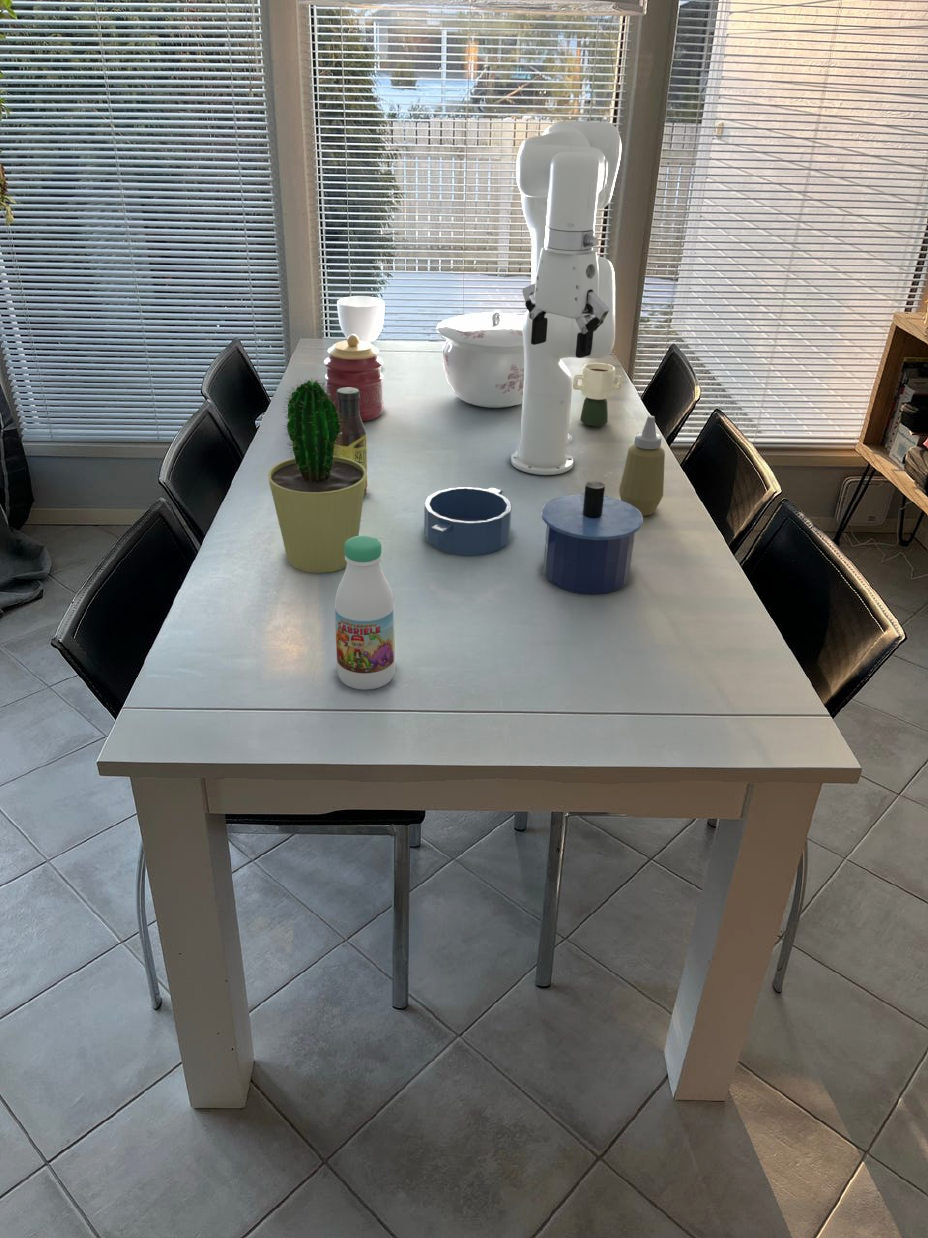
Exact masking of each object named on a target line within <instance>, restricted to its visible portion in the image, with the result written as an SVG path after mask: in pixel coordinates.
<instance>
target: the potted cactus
mask: <svg viewBox="0 0 928 1238" xmlns="http://www.w3.org/2000/svg"><path fill="white" fill-rule="evenodd" d="M310 379H311V380H310ZM310 379H309V380H305V381H304V382H303V383H301V380H300V379H298V380H296V382H297V383H298V385H296V388H295V387H292V388H291V389H289V391H287V390H286V392H287V393H289V392H290V393H289V395H288V397H285V396H284V397H285V398H284V399H286V400H287V401H285V400H284V402H285V403H286V404H285V403H284V405H286V406H287V409H284V408H283V410H284V411H283V412H282V414H283V413H285V411H287V415H286V416H285V419H287V420H288V421H284V423H285V422H286V424H284V427H285V431H286V432H285V433H284V436H285V437H289V440H290V442H287V443H286V444H287V446H288V445H289V446H288V450H292V451H291V456H293V458H289V457H290V455H289V456H288V455H287V458H289V459H286V460H283V461H280V462H279V463H277V464H275V465H274V466H273V467H271V468H270V470H269V471H268V473H267V478H268V482H269V487H270V492H271V496H272V500H273V504H274V508H275V512H276V516H277V521H278V525H279V529H280V533H281V538H282V542H283V547H284V551H285V554H286V558H287V559H286V560H287V561H288V563H289V564H290V565H291V566H292V567H293V568H295V569H296V570H300V571H303V572H306V573H307V572H308V573H317V574H319V573H320V574H321V573H332V572H336V571H340V570H343V569H346V566H347V561H346V560H345V550H344V546H345V542H346V541H347V540H348V539H350V538H352V537H355V536H360V529H361V519H362V511H363V506H364V505H363V504H364V497H365V496H364V489H365V480H366V476H367V477H368V470H367V471H366V468H365V467H364V466H363V465H361V464H360V463H358V462H356V461H354V460H351V459H348V458H344V457H339V456H337V455H336V454H335V455H336V456H335V455H334V452H335V451H334V448H335V449H338V448H336V447H337V446H338V445H337V444H335V445H337V446H336V447H334V441H335V440H336V438H337V437H340V436H337V434H338V433H339V432H340V433H341V430H340V428H343V427H346V426H343V427H340V425H341V424H340V423H339V418H338V416H340V415H338V413H337V408H336V407H335V406H336V404H335V406H334V403H332V401H331V400H330V399H331V398H332V397H331V398H329V397H330V396H331V395H332V394H333V393H332V394H331V395H330V393H329V396H328V395H326V394H327V393H328V392H327V393H326V390H327V389H328V388H327V387H326V386H325V383H322V382H320V381H321V379H320V380H319V378H318V380H317V379H315V380H313V378H310ZM298 381H299V382H298ZM326 388H327V389H326ZM334 402H335V401H334ZM339 411H340V410H339ZM340 414H341V413H340ZM340 417H341V416H340ZM341 420H344V419H341ZM345 421H347V420H345ZM342 425H344V423H342ZM342 433H343V432H342ZM340 435H341V434H340ZM338 439H339V438H338ZM338 439H337V440H338ZM342 443H343V442H342ZM339 446H340V445H339ZM336 451H337V450H336ZM333 455H334V456H333Z"/></svg>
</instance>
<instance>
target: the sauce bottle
mask: <svg viewBox="0 0 928 1238" xmlns="http://www.w3.org/2000/svg"><path fill="white" fill-rule="evenodd" d="M359 398H360V394H359V390H358V389H356V388H352V387H346V388H340V389H338V390H337V399H338V414H339V415H340V416H341V417H340V416H338V418H339V423H340V424H341V425H340V427H343V426H346V427H343V428H340V430H341V433H340V432H339V433H338V434H337V436H340V437H337V438H336V440H335V441H334V447H336V446H337V445H338V446H337V447H336V448H338V449H335V448H334V451H335V452H334V455H335V454H336V455H337V456H339V457H344V458H348V459H351V460H354V461H356V462H358V463H360V464H361V465H363V466H364V467H365V468H366V471H367V472H368V445H367V444H368V443H367V441H368V440H367V439H368V438H367V431H366V428H365V426H364V423H363V422H364V421H362V420H361V417H360V414H359V413H360V411H359ZM339 410H340V411H339ZM340 413H341V414H340ZM341 419H344V420H341ZM345 420H347V421H345ZM342 423H344V425H342ZM342 432H343V433H342ZM340 434H341V435H340ZM338 438H339V439H338ZM337 439H338V440H337ZM342 442H343V443H342ZM335 444H337V445H335ZM339 445H340V446H339ZM336 450H337V451H336ZM334 455H333V456H334ZM336 455H335V456H336ZM367 487H368V475H367V476H366V480H365V489H364V497H365V496H366V495H367V489H368V488H367Z"/></svg>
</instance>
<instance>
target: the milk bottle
mask: <svg viewBox="0 0 928 1238" xmlns="http://www.w3.org/2000/svg"><path fill="white" fill-rule="evenodd" d="M382 548H383V547H382V543H381V540H380V539H378V538H376V537H374V536H372V535H359V536H355V537H352V538H350V539H348V540H347V541H346V542H345V546H344V550H345V560H346V561H347V566H346V567H345V570H344V574H343V576H342V578H341V580H340V582H339V585H338V587H337V589H336V594H335V598H334V599H335V600H334V601H335V602H334V624H335V646H336V647H335V648H336V649H335V650H336V668H337V676H338V678H339V680H340V681H341V682H342V683H343V684H344V685H345V686H347V687H348V688H349V687H350V688H351V689H354V690H364V691H365V690H375V689H378V688H382V687H383V686H386V685H387V684H388V683H390V682H391V681H392V680H393V678H394V676H395V672H396V640H395V639H396V632H395V631H396V629H395V601H394V596H393V591H392V589H391V585H390V584H389V582H388V580H387V578H386V576H385V574H384V572H383V569H382V566H381V562H380V561H382V559H383V558H382V550H383V549H382Z"/></svg>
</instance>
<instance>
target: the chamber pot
mask: <svg viewBox="0 0 928 1238" xmlns="http://www.w3.org/2000/svg"><path fill="white" fill-rule="evenodd" d="M524 316H525V315H519V314H518V315H517V314H509V313H501V311H499V310H495V311H493V312H482V313H481V312H480V313H469V314H461V315H458V316H457V315H456V316H452V317H449V318H446V319H444V320H442V321H441V322H439V323H438V324H437V325H436V329H435V331H436V332H437V333H438V334H439V335H440V336H441V337H442V338H443V339H446V340H445V341H444V343H443V345H442V351H441V353H442V354H441V355H442V356H441V357H442V359H441V363H442V368H443V374H444V378H445V380H446V382H447V383H448V385H449V386H450V389H451V390H452V393H454V394H455V396H456V397H457V398H458V399H459V400H461V401H462V402H465V403H467V404H469V405H473V406H475V407H480V408H487V409H504V408H505V409H506V408H510V407H515V406H519V405H522V401H523V385H524V345H523V333H522V325H523V318H524Z"/></svg>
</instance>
